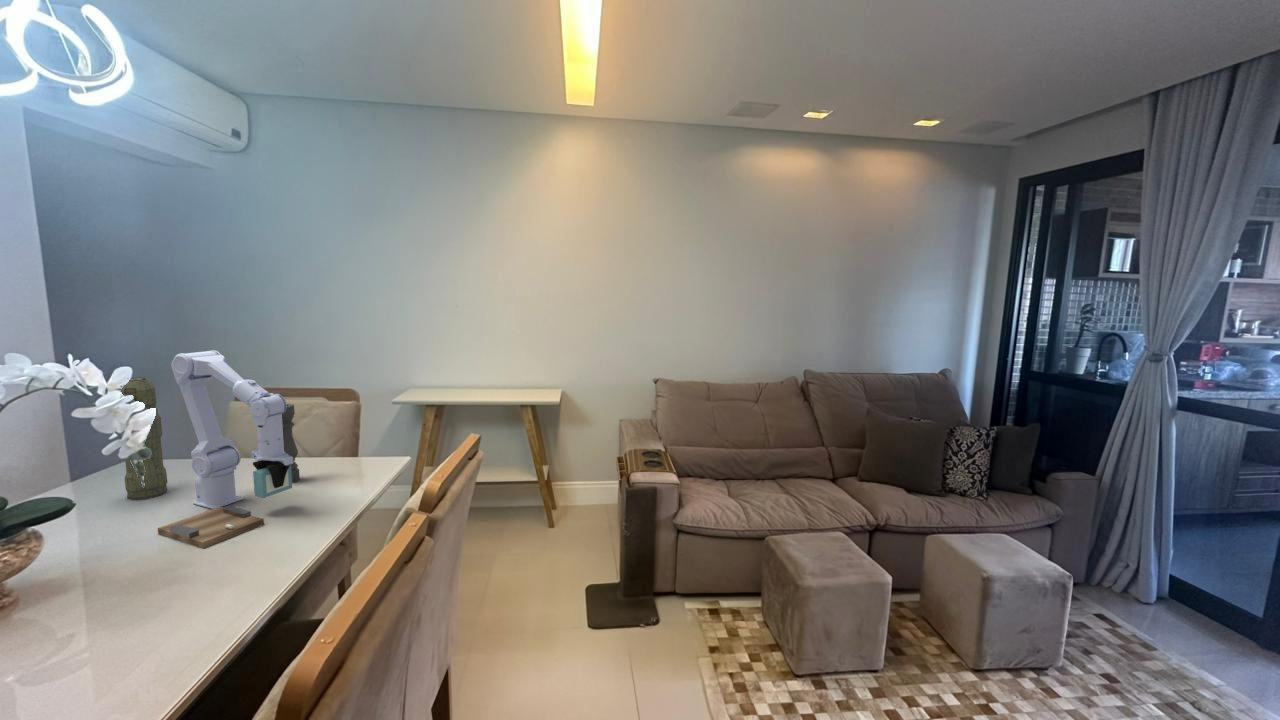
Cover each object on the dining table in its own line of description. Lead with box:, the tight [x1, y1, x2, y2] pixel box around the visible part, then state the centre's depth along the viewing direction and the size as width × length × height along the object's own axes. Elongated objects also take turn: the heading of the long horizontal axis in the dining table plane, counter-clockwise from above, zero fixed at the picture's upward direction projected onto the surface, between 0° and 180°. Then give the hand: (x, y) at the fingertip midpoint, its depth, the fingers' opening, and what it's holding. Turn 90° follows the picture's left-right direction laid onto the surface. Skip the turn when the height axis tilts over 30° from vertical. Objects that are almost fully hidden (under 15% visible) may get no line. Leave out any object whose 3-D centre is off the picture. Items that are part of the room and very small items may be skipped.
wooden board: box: [157, 505, 265, 549], centre depth 131 cm, size 18×14×3 cm
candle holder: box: [282, 403, 301, 484], centre depth 162 cm, size 6×6×25 cm
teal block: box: [252, 465, 293, 499], centre depth 142 cm, size 4×8×7 cm, turn 159°
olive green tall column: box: [121, 377, 169, 501], centre depth 148 cm, size 9×12×35 cm
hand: (273, 485), depth 142 cm, fingers closed on teal block, 3 cm apart
